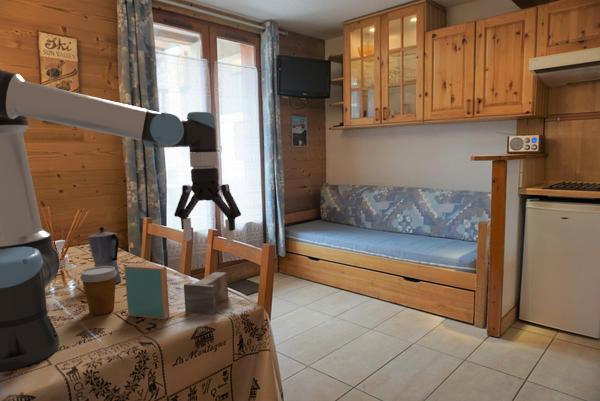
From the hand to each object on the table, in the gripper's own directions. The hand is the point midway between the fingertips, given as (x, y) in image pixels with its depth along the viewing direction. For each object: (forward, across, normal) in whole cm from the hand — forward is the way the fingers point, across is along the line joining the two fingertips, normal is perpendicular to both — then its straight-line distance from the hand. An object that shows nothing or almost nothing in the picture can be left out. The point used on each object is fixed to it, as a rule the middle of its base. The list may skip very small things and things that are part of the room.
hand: (208, 241), depth 116 cm
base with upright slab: (+19, +79, -17) cm, 83 cm away
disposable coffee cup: (+19, +29, +12) cm, 37 cm away
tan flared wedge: (+19, 0, +1) cm, 19 cm away
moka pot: (+19, +47, -10) cm, 51 cm away
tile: (+19, +13, +12) cm, 26 cm away
